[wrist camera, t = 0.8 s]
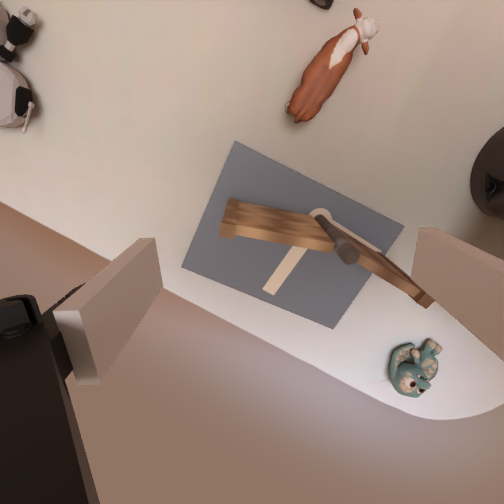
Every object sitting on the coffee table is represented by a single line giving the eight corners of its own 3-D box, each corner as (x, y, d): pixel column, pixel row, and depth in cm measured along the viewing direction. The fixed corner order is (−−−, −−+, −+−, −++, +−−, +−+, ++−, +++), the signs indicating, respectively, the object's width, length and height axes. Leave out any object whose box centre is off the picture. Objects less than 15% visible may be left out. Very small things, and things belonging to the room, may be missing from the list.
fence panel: (312, 214, 45) (338, 245, 32) (309, 223, 46) (333, 258, 33) (229, 197, 44) (221, 222, 31) (227, 207, 44) (218, 236, 31)
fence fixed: (309, 221, 46) (337, 259, 32) (317, 211, 46) (349, 244, 31) (376, 263, 49) (430, 314, 35) (384, 253, 48) (442, 302, 34)
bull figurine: (365, 45, 38) (395, 21, 30) (296, 131, 41) (307, 130, 34) (342, 19, 37) (367, -12, 29) (273, 110, 40) (279, 103, 33)
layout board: (402, 225, 47) (404, 226, 46) (332, 327, 54) (333, 329, 53) (234, 140, 42) (234, 140, 41) (181, 265, 49) (181, 267, 48)
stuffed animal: (474, 368, 51) (432, 419, 53) (443, 347, 58) (407, 392, 60) (433, 341, 49) (390, 395, 50) (406, 322, 56) (369, 370, 57)
